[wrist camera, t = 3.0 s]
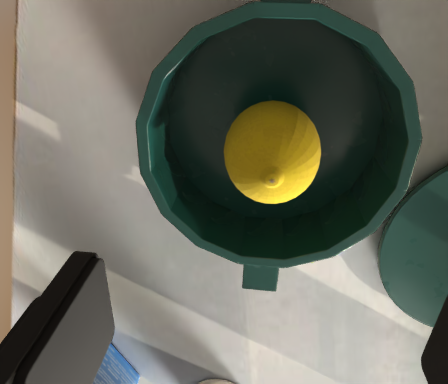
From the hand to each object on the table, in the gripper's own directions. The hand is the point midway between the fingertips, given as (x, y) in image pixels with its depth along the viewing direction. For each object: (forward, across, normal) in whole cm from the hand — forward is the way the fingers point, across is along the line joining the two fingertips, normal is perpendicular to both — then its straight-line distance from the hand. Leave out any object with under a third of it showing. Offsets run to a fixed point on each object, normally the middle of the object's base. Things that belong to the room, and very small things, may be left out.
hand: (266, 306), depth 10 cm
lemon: (+17, 0, 0) cm, 17 cm away
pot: (+17, 0, 0) cm, 17 cm away
